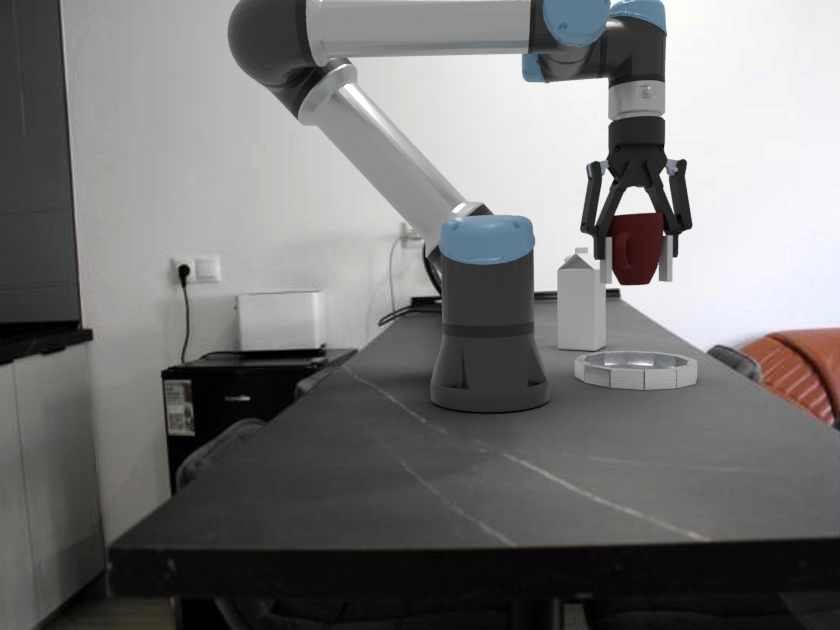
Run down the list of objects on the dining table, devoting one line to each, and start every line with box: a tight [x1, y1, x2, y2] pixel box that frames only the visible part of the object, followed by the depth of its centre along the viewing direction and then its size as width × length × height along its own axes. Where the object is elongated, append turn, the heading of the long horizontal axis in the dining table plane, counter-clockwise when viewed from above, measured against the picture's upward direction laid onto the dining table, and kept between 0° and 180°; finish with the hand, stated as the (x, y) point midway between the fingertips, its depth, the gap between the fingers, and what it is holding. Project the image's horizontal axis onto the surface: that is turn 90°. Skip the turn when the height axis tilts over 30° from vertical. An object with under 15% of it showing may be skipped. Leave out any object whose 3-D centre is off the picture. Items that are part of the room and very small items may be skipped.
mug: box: [605, 212, 664, 286], centre depth 88 cm, size 11×8×10 cm
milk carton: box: [556, 246, 607, 352], centre depth 117 cm, size 7×7×19 cm
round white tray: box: [574, 350, 698, 391], centre depth 90 cm, size 16×16×2 cm
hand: (635, 282), depth 89 cm, fingers closed on mug, 8 cm apart
